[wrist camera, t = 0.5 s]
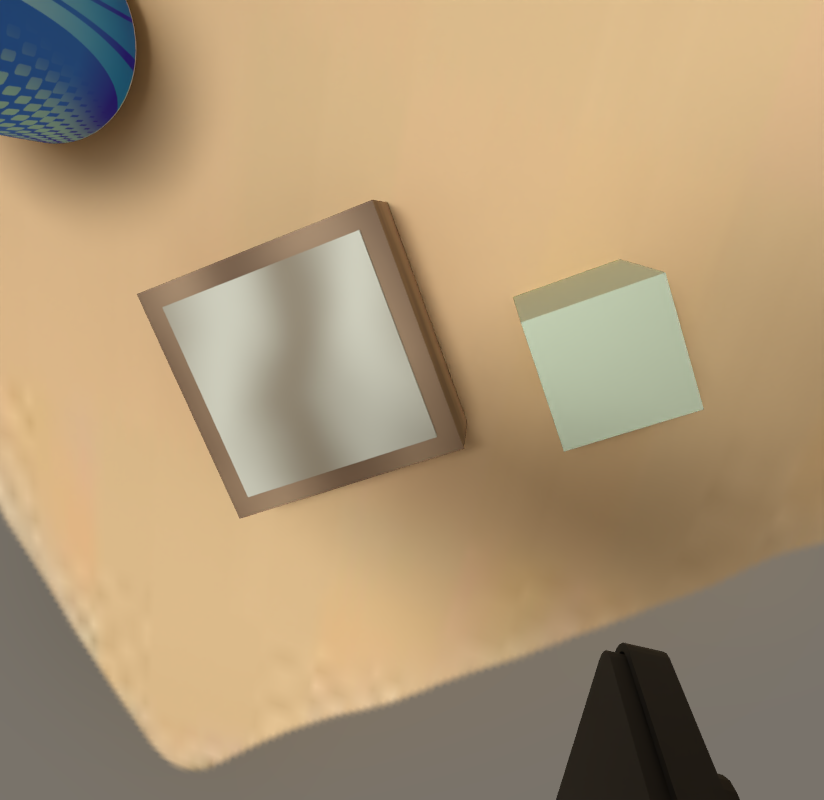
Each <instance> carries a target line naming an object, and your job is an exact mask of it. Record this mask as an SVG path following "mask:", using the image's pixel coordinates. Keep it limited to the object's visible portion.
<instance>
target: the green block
mask: <svg viewBox="0 0 824 800" xmlns="http://www.w3.org/2000/svg"><path fill="white" fill-rule="evenodd" d="M513 299H514V302H515V305H516V308H517V311H518V315H519V318H520V321H521V324H522V327H523V330H524V333H525V336H526V339H527V342H528V345H529V348H530V351H531V354H532V357H533V360H534V363H535V366H536V369H537V372H538V375H539V378H540V381H541V384H542V387H543V390H544V393H545V396H546V399H547V402H548V405H549V408H550V411H551V414H552V417H553V420H554V423H555V426H556V429H557V432H558V435H559V438H560V441H561V444H562V447H563V450H564V451H568V450H571V449H574V448H578V447H581V446H584V445H588V444H591V443H594V442H598V441H601V440H604V439H607V438H611V437H614V436H617V435H621V434H624V433H627V432H631V431H634V430H637V429H640V428H644V427H647V426H650V425H654V424H657V423H660V422H664V421H667V420H670V419H673V418H677V417H680V416H683V415H687V414H690V413H693V412H697V411H700V410H703V409H704V408H703V405H702V401H701V398H700V394H699V390H698V387H697V383H696V380H695V376H694V373H693V369H692V366H691V362H690V358H689V355H688V351H687V348H686V344H685V341H684V337H683V334H682V330H681V326H680V323H679V319H678V316H677V312H676V309H675V305H674V302H673V298H672V294H671V291H670V287H669V284H668V280H667V277H666V273H665V272H662V271H658V270H655V269H652V268H648V267H645V266H641V265H638V264H634V263H631V262H628V261H624V260H621V259H619V260H616V261H614V262H611V263H608V264H605V265H602V266H599V267H597V268H594V269H591V270H588V271H585V272H583V273H580V274H577V275H574V276H571V277H568V278H566V279H563V280H560V281H557V282H554V283H551V284H549V285H546V286H543V287H540V288H537V289H535V290H532V291H529V292H526V293H523V294H520V295H518V296H515V297H513Z"/></svg>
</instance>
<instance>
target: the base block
mask: <svg viewBox="0 0 824 800" xmlns="http://www.w3.org/2000/svg"><path fill="white" fill-rule="evenodd" d="M137 295H138V297H139V300H140V302H141V304H142V306H143V308H144V311H145V313H146V315H147V317H148V319H149V321H150V324H151V326H152V328H153V330H154V332H155V335H156V337H157V339H158V341H159V343H160V346H161V348H162V350H163V352H164V354H165V356H166V359H167V361H168V363H169V365H170V367H171V370H172V372H173V374H174V376H175V378H176V380H177V383H178V385H179V387H180V389H181V391H182V394H183V396H184V398H185V400H186V402H187V404H188V407H189V409H190V411H191V413H192V415H193V418H194V420H195V422H196V424H197V426H198V428H199V431H200V433H201V435H202V437H203V439H204V442H205V444H206V446H207V448H208V450H209V452H210V455H211V457H212V459H213V461H214V463H215V466H216V468H217V470H218V472H219V474H220V476H221V479H222V481H223V483H224V485H225V487H226V490H227V492H228V494H229V496H230V498H231V501H232V503H233V505H234V507H235V509H236V511H237V514H238V516H239V518H243V517H247V516H250V515H253V514H256V513H259V512H263V511H266V510H269V509H272V508H275V507H279V506H282V505H285V504H288V503H291V502H295V501H298V500H301V499H304V498H307V497H311V496H314V495H317V494H320V493H323V492H327V491H330V490H333V489H336V488H339V487H342V486H346V485H349V484H352V483H355V482H358V481H362V480H365V479H368V478H371V477H374V476H378V475H381V474H384V473H387V472H390V471H394V470H397V469H400V468H403V467H406V466H410V465H413V464H416V463H419V462H422V461H426V460H429V459H432V458H435V457H438V456H442V455H445V454H448V453H451V452H454V451H458V450H461V449H464V443H465V434H466V425H467V420H466V418H465V415H464V412H463V409H462V407H461V404H460V401H459V398H458V396H457V393H456V390H455V387H454V385H453V382H452V379H451V376H450V374H449V371H448V368H447V365H446V363H445V360H444V357H443V354H442V352H441V349H440V346H439V343H438V341H437V338H436V335H435V333H434V330H433V327H432V324H431V322H430V319H429V316H428V313H427V311H426V308H425V305H424V302H423V300H422V297H421V294H420V291H419V289H418V286H417V283H416V280H415V278H414V275H413V272H412V269H411V267H410V264H409V261H408V258H407V256H406V253H405V250H404V247H403V245H402V242H401V239H400V236H399V234H398V231H397V228H396V225H395V223H394V220H393V217H392V214H391V212H390V209H389V206H388V203H387V202H382V201H376V200H371V201H368V202H366V203H363V204H361V205H358V206H356V207H353V208H351V209H348V210H346V211H343V212H341V213H338V214H336V215H333V216H331V217H328V218H326V219H323V220H321V221H318V222H316V223H313V224H311V225H308V226H306V227H303V228H301V229H298V230H296V231H293V232H291V233H288V234H286V235H283V236H281V237H278V238H276V239H273V240H271V241H268V242H266V243H263V244H261V245H258V246H256V247H253V248H251V249H248V250H246V251H243V252H241V253H238V254H236V255H233V256H231V257H228V258H226V259H224V260H221V261H219V262H216V263H214V264H211V265H209V266H206V267H204V268H201V269H199V270H196V271H194V272H191V273H189V274H186V275H184V276H181V277H179V278H176V279H174V280H171V281H169V282H166V283H164V284H161V285H159V286H156V287H154V288H151V289H149V290H146V291H144V292H141V293H139V294H137Z"/></svg>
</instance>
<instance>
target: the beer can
mask: <svg viewBox="0 0 824 800" xmlns="http://www.w3.org/2000/svg"><path fill="white" fill-rule="evenodd" d="M135 64H136V37H135V29H134V24H133V19H132V16H131V12H130V9H129V6H128V4H127V1H126V0H0V135H3V136H9V137H14V138H20V139H26V140H32V141H37V142H43V143H54V144H56V143H68V142H73V141H77V140H81V139H83V138H86V137H88V136H90V135H92V134H94V133H95V132H97V131H98V130H100V129H101V128H103V127H104V126H105V125H106V124H107V123H108V122H109V121H110V120H111V119H112V118H113V117H114V116H115V115H116V113H117V112H118V110H119V109H120V108H121V106H122V104H123V102H124V101H125V99H126V96H127V94H128V92H129V89H130V86H131V83H132V80H133V76H134V71H135Z"/></svg>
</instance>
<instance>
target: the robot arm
mask: <svg viewBox="0 0 824 800" xmlns="http://www.w3.org/2000/svg"><path fill="white" fill-rule="evenodd" d="M556 800H740V799H739V797H738V794H737V792H736V790H735V789H734V787H733V785H732V784H731V782H730V780H728V779H727V778H726V777H724V776H723V775H720V774H717V772H716V769H715V767H714V765H713V762H712V760H711V757H710V755H709V753H708V750H707V748H706V745H705V743H704V740H703V738H702V736H701V733H700V731H699V729H698V726H697V724H696V721H695V719H694V716H693V714H692V711H691V709H690V707H689V704H688V702H687V699H686V697H685V695H684V692H683V690H682V687H681V685H680V683H679V680H678V678H677V675H676V673H675V670H674V668H673V666H672V663H671V661H670V658H669V657H668V655H667V654H666V653H664V652H662V651H658V650H653V649H649V648H644V647H640V646H635V645H631V644H626V643H621V644H620V645H619V646H618V647H617V649H616V651H615V652H611V651H604V652H603V653H602V655H601V658H600V660H599V663H598V666H597V669H596V672H595V676H594V679H593V682H592V685H591V689H590V692H589V695H588V698H587V702H586V705H585V708H584V711H583V715H582V718H581V721H580V724H579V727H578V731H577V734H576V737H575V741H574V744H573V747H572V750H571V754H570V756H569V760H568V763H567V766H566V770H565V773H564V776H563V779H562V782H561V786H560V789H559V792H558V795H557V798H556Z"/></svg>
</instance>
